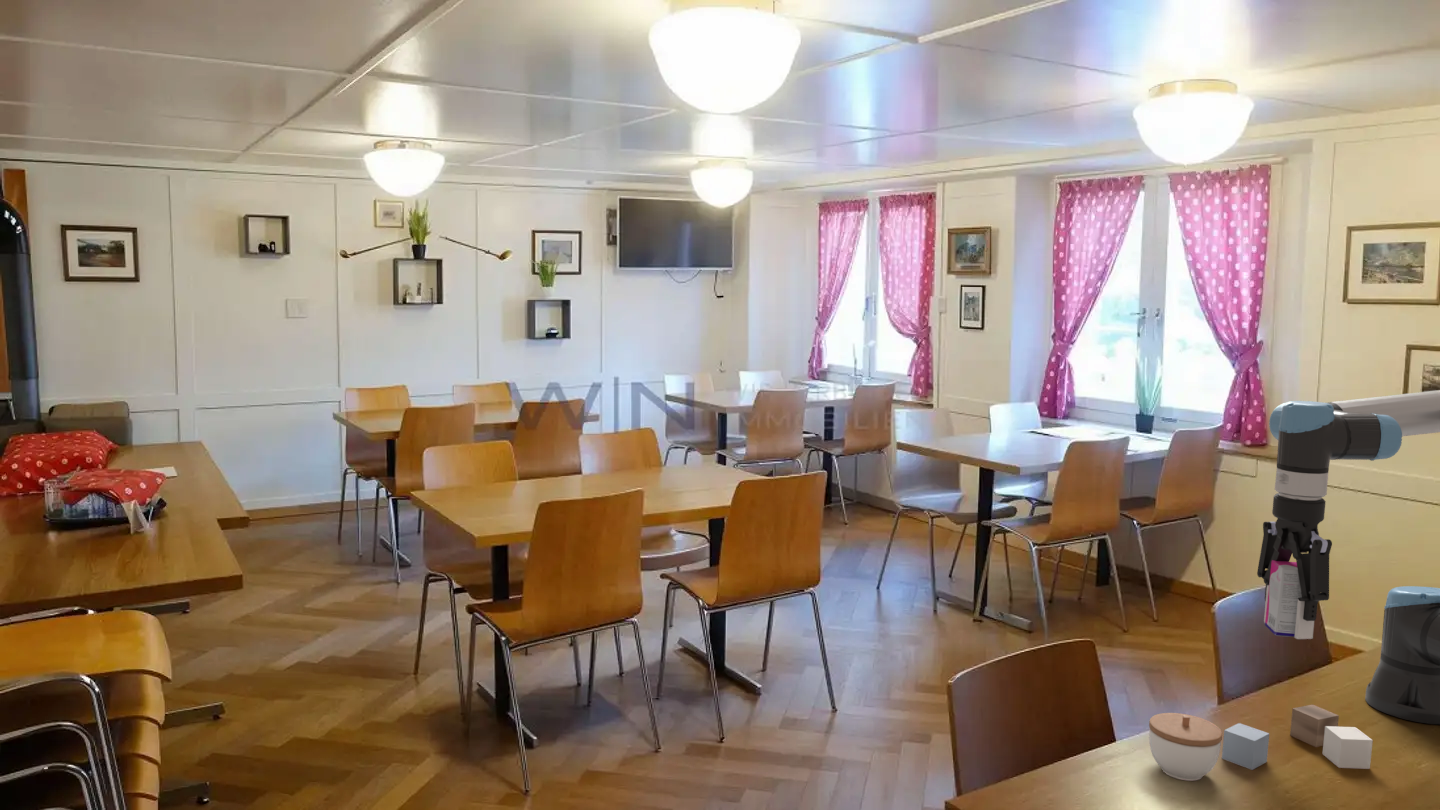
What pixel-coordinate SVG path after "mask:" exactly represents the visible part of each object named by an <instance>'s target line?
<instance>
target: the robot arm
mask: <svg viewBox="0 0 1440 810" xmlns="http://www.w3.org/2000/svg"><path fill="white" fill-rule="evenodd" d="M1268 422H1269V430H1270V431H1269V432H1270V433H1271V435H1272V436H1273V437H1274V438H1275V439H1276V440H1277V441H1278V442H1277V454H1276V457H1277V458H1276V473H1275V480H1274V481H1275V482H1274V490H1275V492H1277V493H1276V494H1275V495H1273V501H1272V510H1271V511H1272V515H1273V517H1274V518H1276V521H1264V522H1263V523H1262V530H1263V531H1262V532H1263V536H1262V542H1261V548H1260V554H1259V560H1258V565H1257V572H1256V575H1257V577H1258V578H1262V579H1263V583H1264V584H1265V588H1264V590H1265V591H1264V602H1265V604H1264V605H1265V606H1264V616H1263V623H1264V624H1265V619H1266V610H1267V601H1268V591H1269V581H1270V572H1271V563H1272V560H1274V561H1287V562H1290V560H1291V557H1293V559H1295V562H1297V568H1298V574H1299V581H1300V587H1301V594H1302V597H1301V598H1298V604H1297V615H1296V626H1295V637H1293V638H1294V639H1296V640H1307V639H1308V640H1311V639H1314V629H1315V621H1316V620H1317V613H1318V603H1319V602H1320V601H1321V602H1322V601H1328V600H1329V599H1330V554H1331V550H1332V546H1333V541H1332V540H1331V539H1329V538H1328V539H1324V538H1323V537H1321V536H1320V533H1319V527H1318V525H1319V524H1320V523H1322V522H1323V521H1324V520H1325V511H1326V503H1327V502H1326V500H1325V498H1323V497H1326V496H1327V494H1328V483H1329V482H1328V481H1329V468H1330V461H1331V460H1332V461H1333V460H1335V461H1336V460H1350V461H1351V460H1353V461H1354V460H1355V461H1356V460H1358V461H1359V460H1360V461H1361V460H1364V461H1365V460H1366V461H1367V460H1368V461H1375V460H1387V459H1390V458H1392V457H1393V456H1395V455H1396V454H1397V453H1398V452H1399V450H1400V448H1401V446H1402V440H1403V438H1402V437H1409V436H1416V435H1417V436H1418V435H1427V434H1434V433H1435V434H1436V433H1440V390H1437V389H1436V390H1430V391H1429V390H1427V391H1421V392H1419V391H1418V392H1411V393H1409V392H1408V393H1402V394H1393V395H1382V396H1375V397H1365V398H1356V399H1347V400H1337V401H1336V400H1335V401H1329V402H1321V401H1310V400H1289V401H1287V402H1283V403H1281V404H1279V405H1277V406H1276V407H1275V408H1274V409H1273V410H1272V412H1271V414H1270V417H1269V421H1268ZM1309 592H1310V593H1309ZM1383 611H1384V612H1383V623H1382V634H1381V635H1382V636H1381V647H1380V648H1381V649H1380V657H1379V663H1378V665H1377V667H1376V669H1375V671H1374V673H1373V676H1372V679H1371V680H1370V682H1368V684H1367V686H1366V689H1365V701H1366V703H1367V704H1368V705H1369V706H1370V707H1372V708H1374V709H1375V710H1377V711H1379V712H1382V713H1384V714H1387V715H1390V716H1392V717H1395V718H1399V719H1401V720H1402V719H1403V720H1406V721H1411V722H1415V723H1422V724H1428V725H1440V588H1439V587H1432V586H1431V587H1430V586H1417V585H1412V586H1411V585H1405V586H1403V585H1402V586H1396V587H1393V588H1391V589H1389V591H1388V592H1387V596H1386V602H1385V605H1384V609H1383Z"/></svg>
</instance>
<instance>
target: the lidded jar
mask: <svg viewBox="0 0 1440 810" xmlns="http://www.w3.org/2000/svg"><path fill="white" fill-rule="evenodd" d="M1148 723H1149V724H1148V726H1149V733H1148V735H1149V737H1148V739H1149V748H1150V752H1151V755H1152V757H1153V759H1154V761H1155V762H1156V764H1157V765H1158V766H1159V767H1160V768H1161V771H1162V770H1163V771H1162V772H1163V773H1164V772H1165V773H1166V775H1167V776H1168V777H1171V778H1173V779H1177V780H1180V781H1187V782H1190V781H1191V782H1195V781H1200V780H1201V779H1202V778H1203V776H1205V775H1207V774H1208V773H1210V772H1211V771H1212V770H1213V769H1214V767H1215V766H1216V763H1217V762H1218V760H1219V756H1220V753H1221V746H1222V739H1223V732H1222V729H1221V728H1220V727H1219V726H1217V725H1216V724H1215V723H1213V722H1211V721H1209V720H1206V718H1203V717H1200V716H1195V715H1193V714H1192V715H1191V714H1186V713H1180V712H1179V713H1178V712H1163V713H1157V714H1155V715H1153V716H1151V717H1150V719H1149V722H1148ZM1165 773H1164V774H1165Z"/></svg>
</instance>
